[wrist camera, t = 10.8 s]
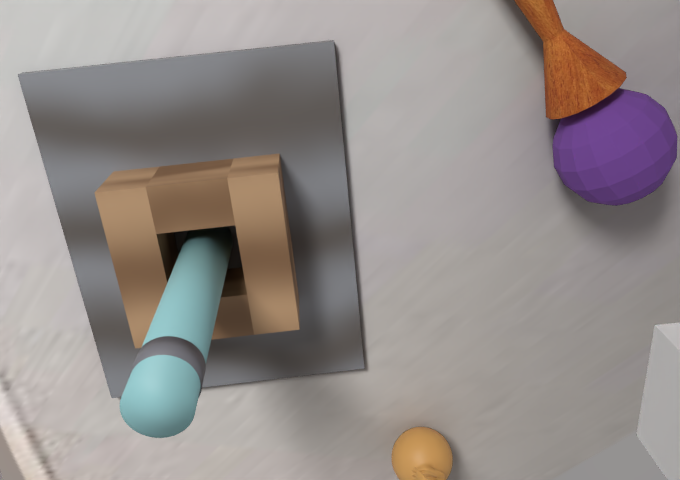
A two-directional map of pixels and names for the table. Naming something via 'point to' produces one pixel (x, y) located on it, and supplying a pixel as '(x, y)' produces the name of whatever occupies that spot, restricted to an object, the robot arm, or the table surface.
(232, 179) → the gray base plate
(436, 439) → the figurine
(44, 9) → the table surface
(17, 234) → the table surface
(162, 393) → the banded teal rod
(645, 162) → the kendama
